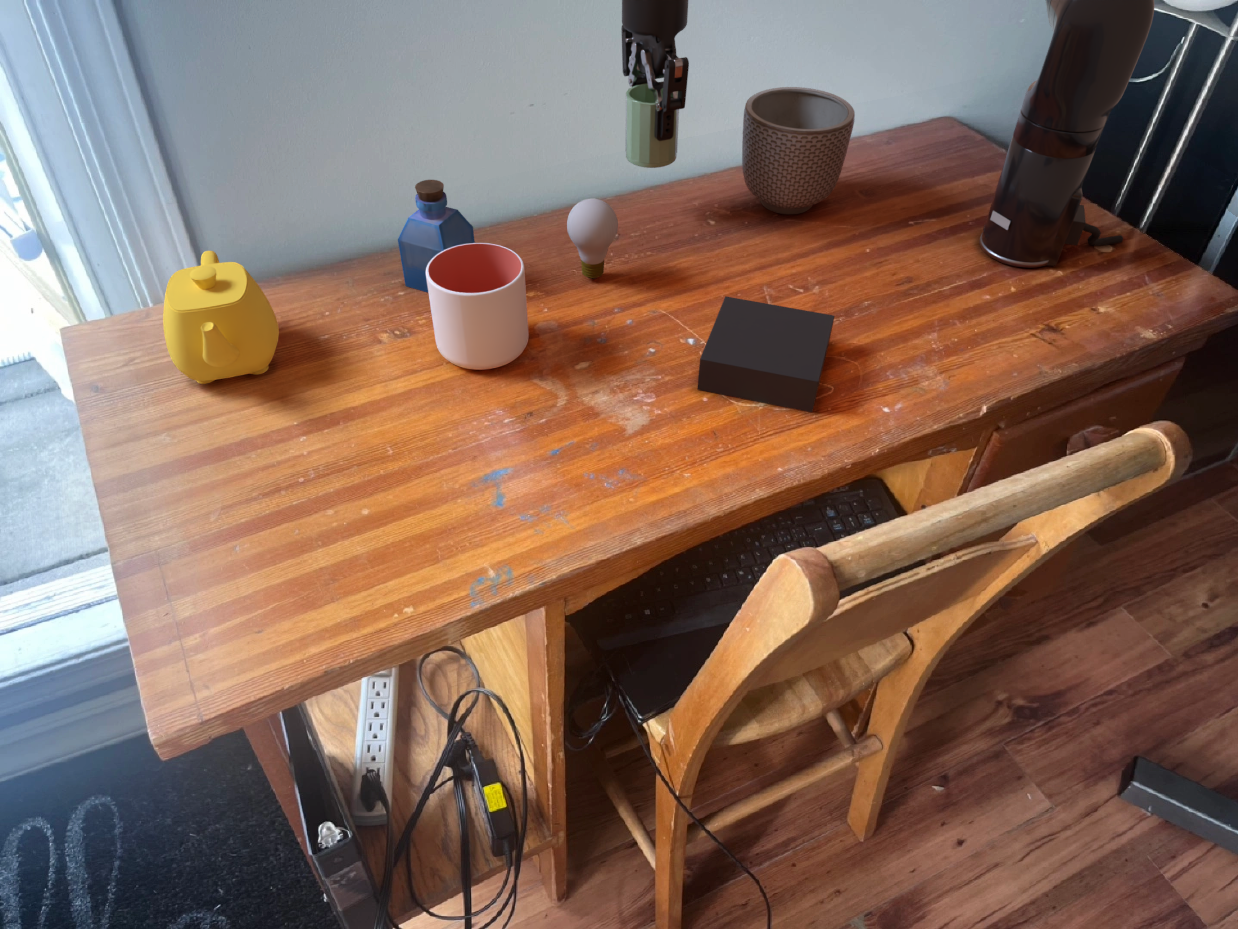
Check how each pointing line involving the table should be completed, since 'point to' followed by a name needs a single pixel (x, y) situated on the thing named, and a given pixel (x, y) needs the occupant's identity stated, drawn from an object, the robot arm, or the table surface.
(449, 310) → the cup
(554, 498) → the table surface
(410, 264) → the perfume bottle
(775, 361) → the riser
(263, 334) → the teapot
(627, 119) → the sage cup
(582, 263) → the light bulb
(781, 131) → the planter
